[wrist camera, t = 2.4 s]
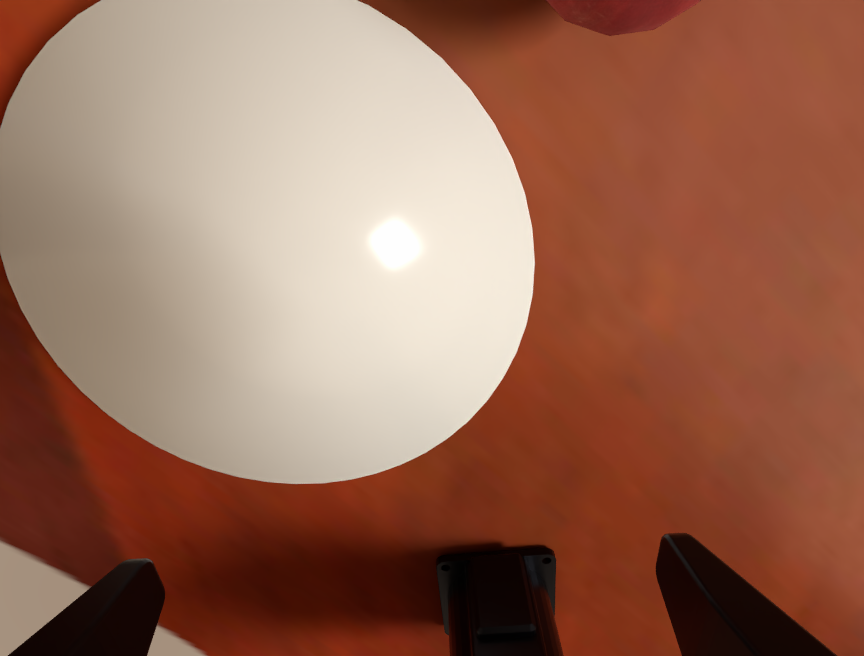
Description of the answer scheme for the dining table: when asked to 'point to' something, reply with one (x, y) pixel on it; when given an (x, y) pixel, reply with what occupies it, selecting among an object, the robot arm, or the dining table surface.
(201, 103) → the plate
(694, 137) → the dining table surface
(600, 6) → the onion
